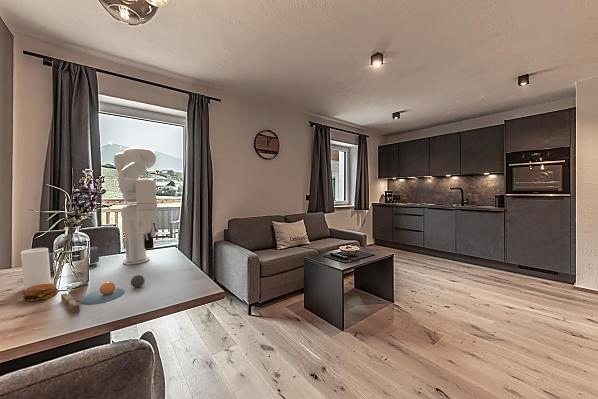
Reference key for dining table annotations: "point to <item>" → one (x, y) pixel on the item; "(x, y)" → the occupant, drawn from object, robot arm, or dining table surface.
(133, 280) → the dark grey sphere
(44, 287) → the burger
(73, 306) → the stopper wall
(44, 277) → the cup
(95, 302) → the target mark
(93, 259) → the bluetooth speaker
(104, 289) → the object ball
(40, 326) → the dining table surface
